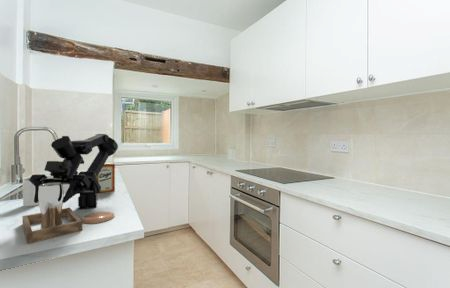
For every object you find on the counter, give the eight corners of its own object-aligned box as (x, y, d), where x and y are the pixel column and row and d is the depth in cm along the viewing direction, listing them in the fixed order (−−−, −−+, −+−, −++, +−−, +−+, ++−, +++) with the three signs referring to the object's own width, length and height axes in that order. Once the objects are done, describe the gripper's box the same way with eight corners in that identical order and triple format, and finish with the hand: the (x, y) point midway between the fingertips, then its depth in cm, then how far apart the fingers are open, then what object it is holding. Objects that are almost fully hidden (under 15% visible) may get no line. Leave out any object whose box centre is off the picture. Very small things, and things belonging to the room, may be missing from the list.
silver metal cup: (68, 223, 81) (68, 182, 81) (54, 231, 74) (54, 186, 74) (49, 223, 81) (48, 182, 81) (33, 231, 74) (32, 186, 74)
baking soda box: (96, 193, 122) (95, 164, 122) (93, 191, 127) (92, 163, 126) (114, 191, 129) (114, 163, 128) (111, 189, 134) (110, 162, 133)
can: (20, 205, 101) (19, 179, 100) (37, 201, 106) (37, 176, 106) (27, 207, 98) (26, 180, 97) (44, 204, 103) (44, 178, 103)
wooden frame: (69, 214, 90) (69, 207, 90) (82, 229, 76) (82, 221, 76) (22, 224, 80) (22, 216, 80) (27, 243, 66) (27, 233, 66)
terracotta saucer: (114, 211, 94) (114, 210, 94) (114, 220, 84) (114, 219, 84) (83, 215, 89) (83, 214, 89) (79, 225, 79) (79, 223, 79)
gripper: (32, 152, 81) (4, 189, 70) (85, 152, 82) (66, 189, 71) (48, 170, 89) (26, 206, 78) (97, 170, 90) (81, 206, 79)
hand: (49, 202), depth 76 cm, fingers open, 9 cm apart
